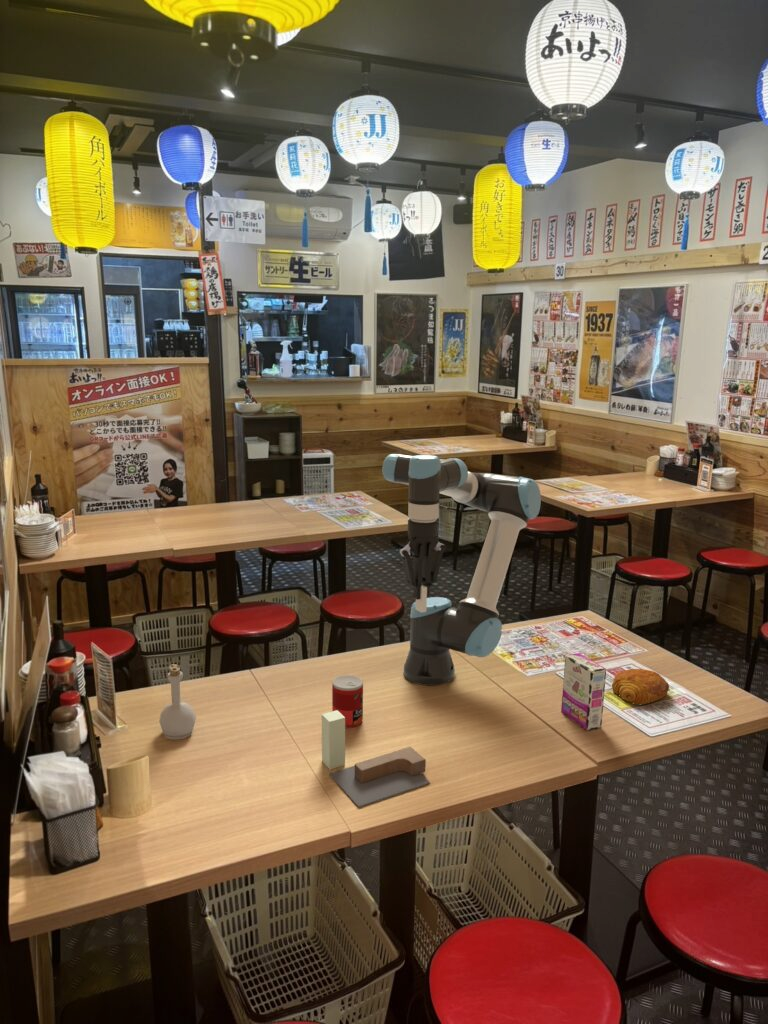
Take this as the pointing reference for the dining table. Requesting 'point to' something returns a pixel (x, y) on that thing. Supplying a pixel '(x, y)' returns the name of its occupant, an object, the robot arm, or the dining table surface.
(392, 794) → the mat
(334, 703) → the canned food
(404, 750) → the wooden block
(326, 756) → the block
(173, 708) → the potion bottle
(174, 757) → the dining table surface
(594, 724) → the candy bar box
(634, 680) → the croissant
